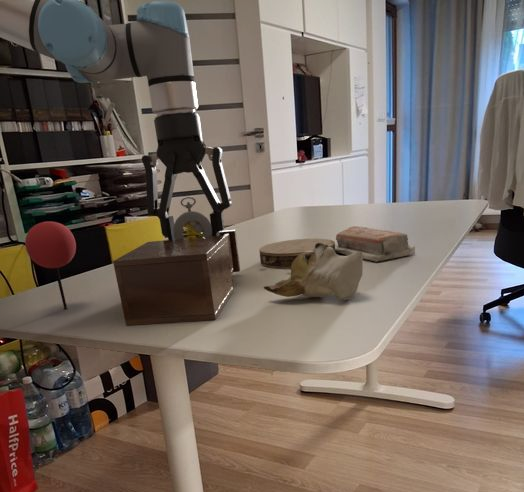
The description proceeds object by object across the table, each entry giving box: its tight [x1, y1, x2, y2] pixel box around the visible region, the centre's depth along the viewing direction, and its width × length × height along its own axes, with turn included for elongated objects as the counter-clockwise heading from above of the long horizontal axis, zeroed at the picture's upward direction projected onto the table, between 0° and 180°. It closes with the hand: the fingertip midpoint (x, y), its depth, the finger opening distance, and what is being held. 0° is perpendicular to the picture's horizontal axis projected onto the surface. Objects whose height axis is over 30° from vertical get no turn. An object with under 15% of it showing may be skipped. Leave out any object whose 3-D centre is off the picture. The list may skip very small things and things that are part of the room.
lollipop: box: [24, 221, 77, 310], centre depth 89 cm, size 8×8×15 cm
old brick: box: [335, 225, 416, 263], centre depth 109 cm, size 18×5×10 cm
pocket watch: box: [173, 196, 212, 239], centre depth 92 cm, size 8×8×10 cm
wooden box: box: [112, 235, 234, 326], centre depth 83 cm, size 16×14×10 cm
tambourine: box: [258, 238, 336, 269], centre depth 110 cm, size 16×16×3 cm
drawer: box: [183, 229, 241, 276], centre depth 97 cm, size 20×13×8 cm, turn 173°
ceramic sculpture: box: [263, 243, 364, 301], centre depth 81 cm, size 11×9×15 cm
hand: (196, 251), depth 94 cm, fingers closed on pocket watch, 7 cm apart
